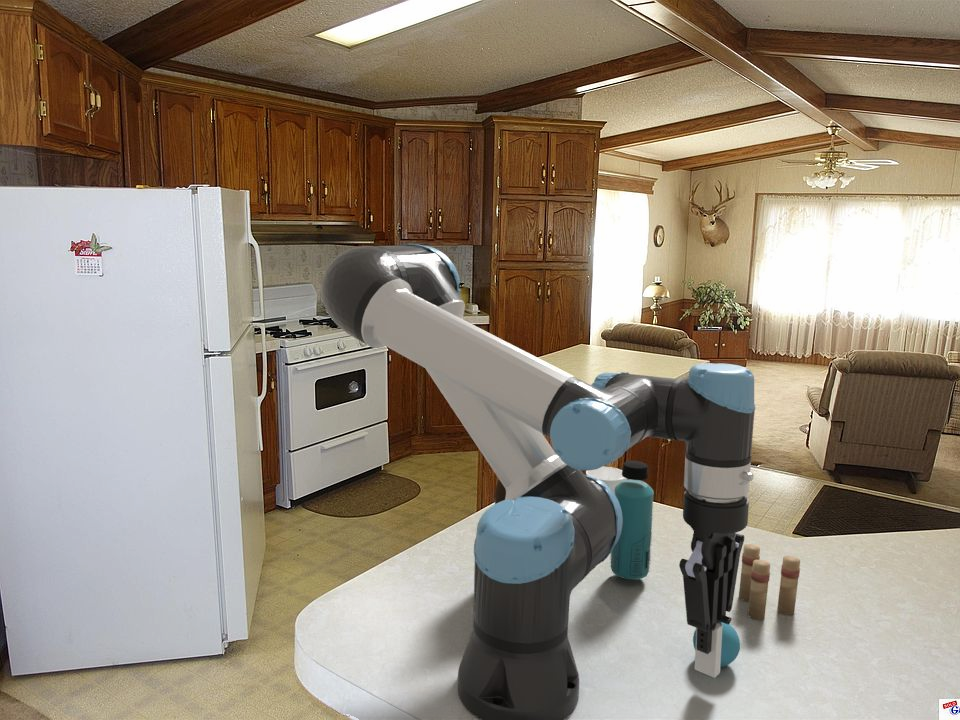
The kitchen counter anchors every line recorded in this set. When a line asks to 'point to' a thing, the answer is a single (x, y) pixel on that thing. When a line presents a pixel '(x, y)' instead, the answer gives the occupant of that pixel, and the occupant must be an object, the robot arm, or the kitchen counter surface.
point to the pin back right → (788, 585)
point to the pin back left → (747, 569)
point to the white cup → (608, 476)
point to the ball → (727, 644)
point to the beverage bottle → (633, 523)
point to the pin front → (758, 589)
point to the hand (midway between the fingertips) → (707, 670)
